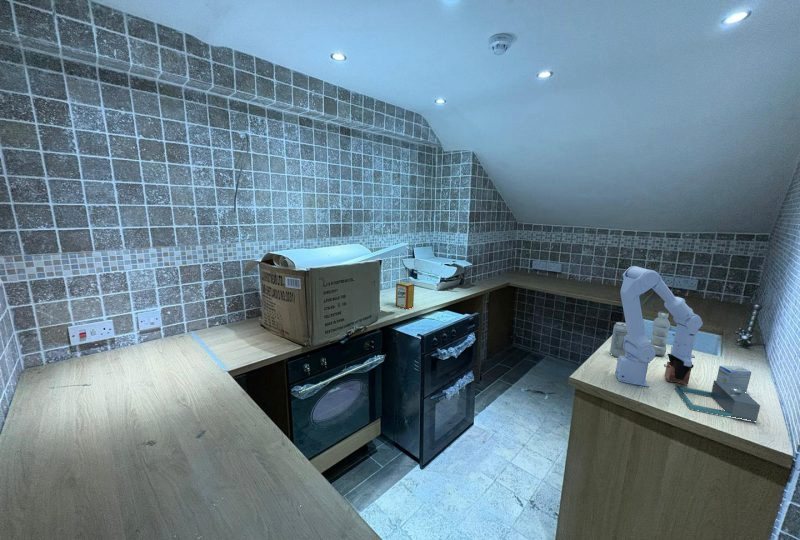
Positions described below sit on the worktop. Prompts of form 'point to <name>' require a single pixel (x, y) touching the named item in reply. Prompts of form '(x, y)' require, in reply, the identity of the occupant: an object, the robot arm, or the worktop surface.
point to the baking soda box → (404, 295)
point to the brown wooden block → (671, 374)
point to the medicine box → (734, 376)
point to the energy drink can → (618, 339)
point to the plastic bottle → (660, 333)
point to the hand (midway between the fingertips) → (676, 376)
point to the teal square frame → (724, 400)
